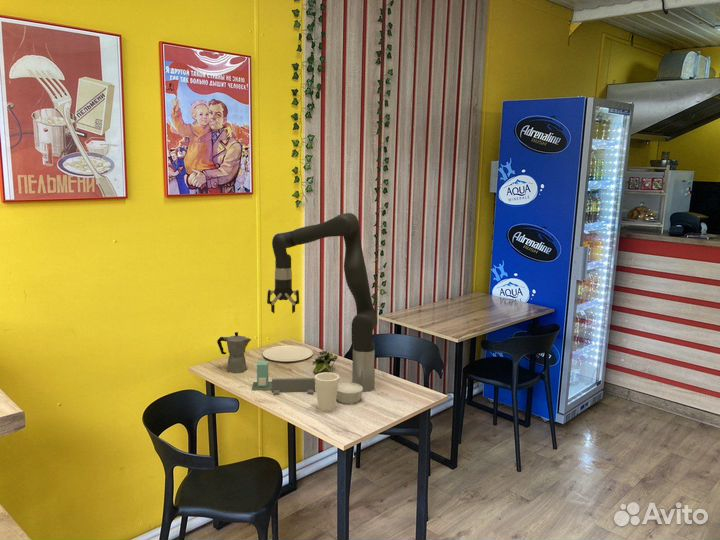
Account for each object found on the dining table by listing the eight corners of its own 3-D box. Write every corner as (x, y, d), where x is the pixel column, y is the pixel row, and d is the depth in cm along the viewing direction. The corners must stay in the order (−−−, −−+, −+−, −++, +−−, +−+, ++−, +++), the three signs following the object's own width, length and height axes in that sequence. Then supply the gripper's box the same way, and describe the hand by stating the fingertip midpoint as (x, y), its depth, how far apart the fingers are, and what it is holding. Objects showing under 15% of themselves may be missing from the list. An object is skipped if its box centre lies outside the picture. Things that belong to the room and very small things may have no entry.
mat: (274, 382, 244) (274, 381, 244) (273, 390, 236) (273, 389, 235) (253, 382, 243) (253, 381, 243) (251, 390, 235) (251, 389, 234)
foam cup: (309, 407, 219) (310, 376, 217) (327, 401, 226) (327, 370, 223) (325, 415, 213) (326, 383, 210) (343, 408, 219) (344, 377, 217)
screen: (315, 390, 237) (315, 377, 236) (315, 394, 232) (315, 381, 231) (272, 391, 235) (272, 378, 234) (271, 395, 230) (271, 382, 229)
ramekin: (367, 398, 230) (368, 386, 229) (352, 407, 220) (352, 395, 219) (345, 392, 236) (345, 380, 235) (329, 400, 227) (329, 388, 226)
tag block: (268, 383, 242) (268, 361, 240) (267, 387, 237) (267, 365, 235) (257, 383, 241) (257, 361, 240) (256, 387, 237) (256, 365, 235)
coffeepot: (252, 366, 263) (252, 329, 260) (249, 373, 254) (249, 335, 251) (220, 366, 263) (219, 329, 260) (215, 373, 254) (214, 334, 250)
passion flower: (322, 379, 264) (332, 356, 268) (335, 382, 255) (346, 358, 259) (304, 369, 258) (315, 346, 262) (317, 372, 250) (328, 347, 253)
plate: (294, 345, 298) (294, 342, 298) (322, 357, 279) (322, 354, 279) (253, 353, 282) (253, 350, 282) (279, 367, 263) (279, 364, 263)
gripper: (266, 279, 244) (266, 315, 247) (299, 279, 246) (299, 315, 249) (267, 275, 252) (267, 310, 255) (299, 276, 253) (299, 310, 256)
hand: (283, 312), depth 252 cm, fingers open, 8 cm apart
